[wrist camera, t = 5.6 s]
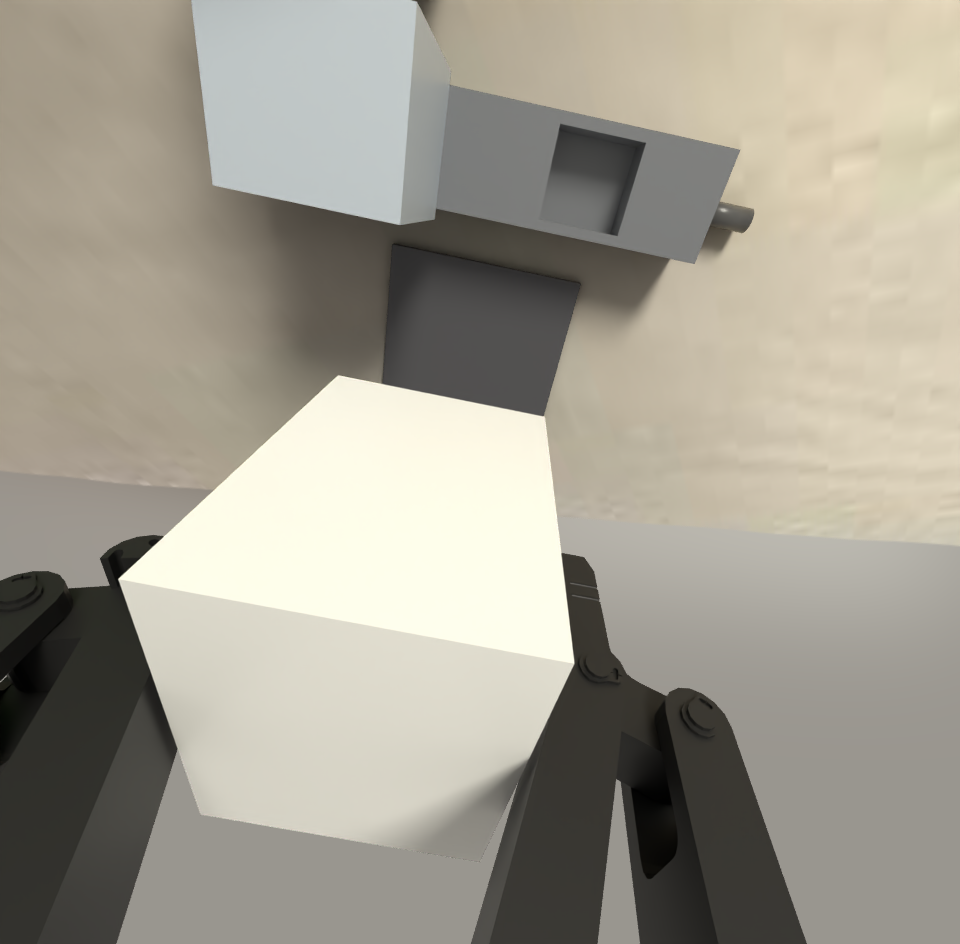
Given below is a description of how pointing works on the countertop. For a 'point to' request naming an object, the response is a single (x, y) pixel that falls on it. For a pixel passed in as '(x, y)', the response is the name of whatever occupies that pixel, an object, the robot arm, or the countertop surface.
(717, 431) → the countertop surface
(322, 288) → the countertop surface
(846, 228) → the countertop surface
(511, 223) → the power strip
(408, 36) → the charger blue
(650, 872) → the robot arm
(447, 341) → the mat
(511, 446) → the block
